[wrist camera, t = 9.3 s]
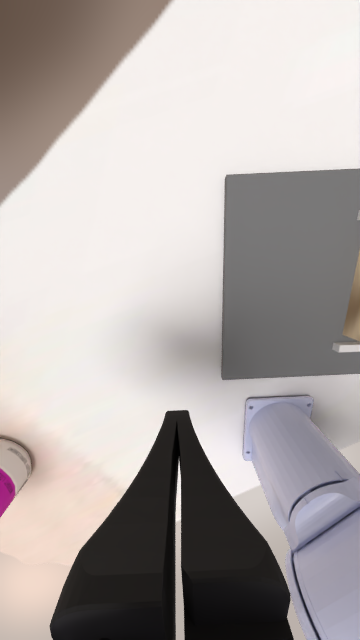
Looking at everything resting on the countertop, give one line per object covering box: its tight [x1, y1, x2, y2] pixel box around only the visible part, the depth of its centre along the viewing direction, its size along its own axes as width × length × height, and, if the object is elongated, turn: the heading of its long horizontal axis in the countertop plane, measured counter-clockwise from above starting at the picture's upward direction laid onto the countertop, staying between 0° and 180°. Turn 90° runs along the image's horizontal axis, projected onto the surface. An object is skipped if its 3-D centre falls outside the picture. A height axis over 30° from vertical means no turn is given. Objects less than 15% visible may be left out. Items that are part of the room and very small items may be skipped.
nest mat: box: [221, 169, 360, 380], centre depth 18 cm, size 20×24×1 cm
